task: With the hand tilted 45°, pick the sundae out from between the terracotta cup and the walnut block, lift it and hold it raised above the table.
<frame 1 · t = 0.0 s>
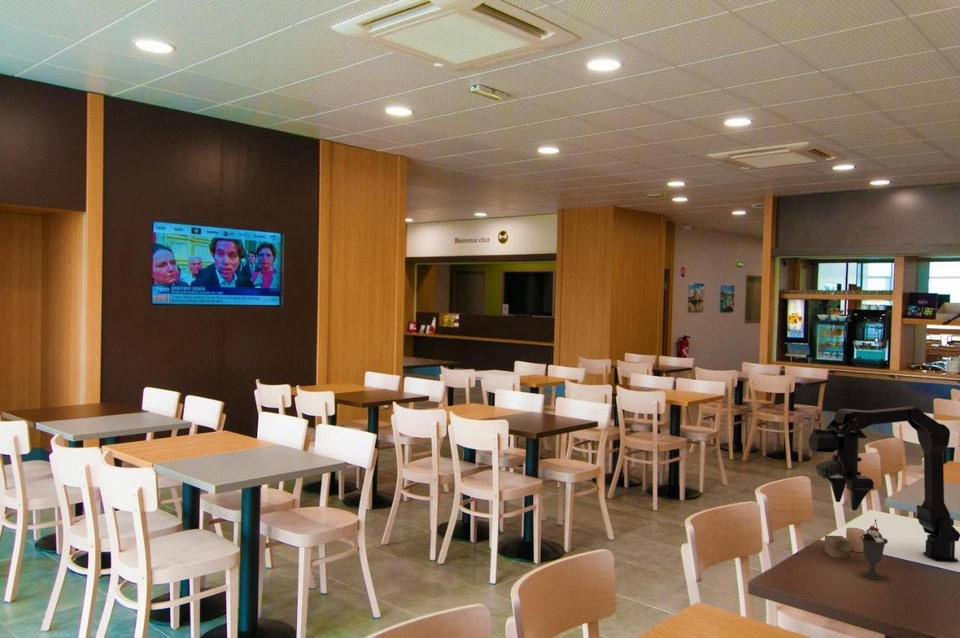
hand: (845, 506, 212), 15 cm above the table, tool pointing down, fingers open, 9 cm apart
sundae: (872, 576, 196), on the table
walnut block: (837, 555, 213), on the table
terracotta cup: (855, 549, 218), on the table
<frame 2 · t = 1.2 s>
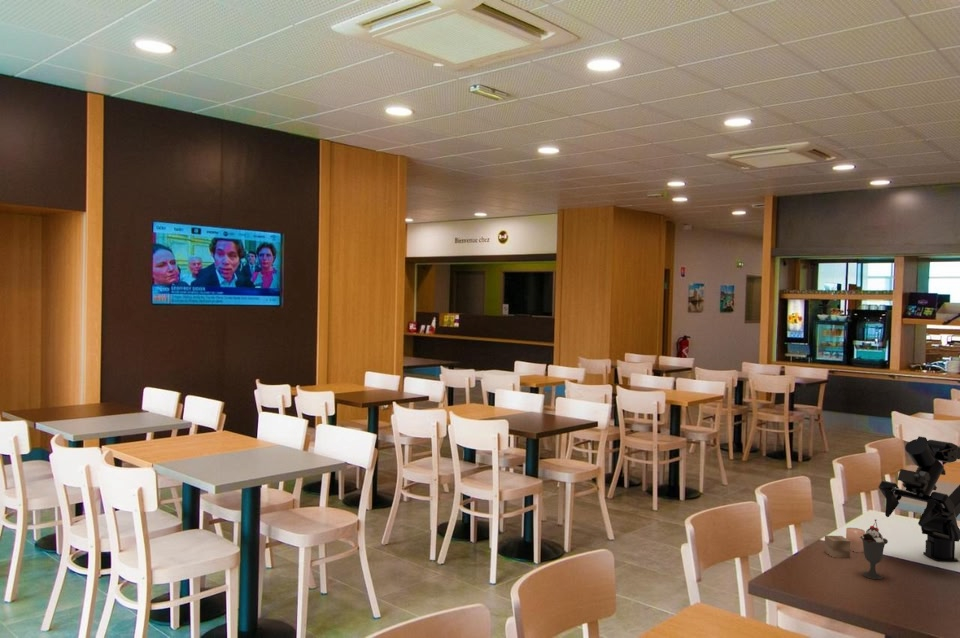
hand: (902, 520, 203), 13 cm above the table, tool tilted 45°, fingers open, 9 cm apart
nothing on the table moved.
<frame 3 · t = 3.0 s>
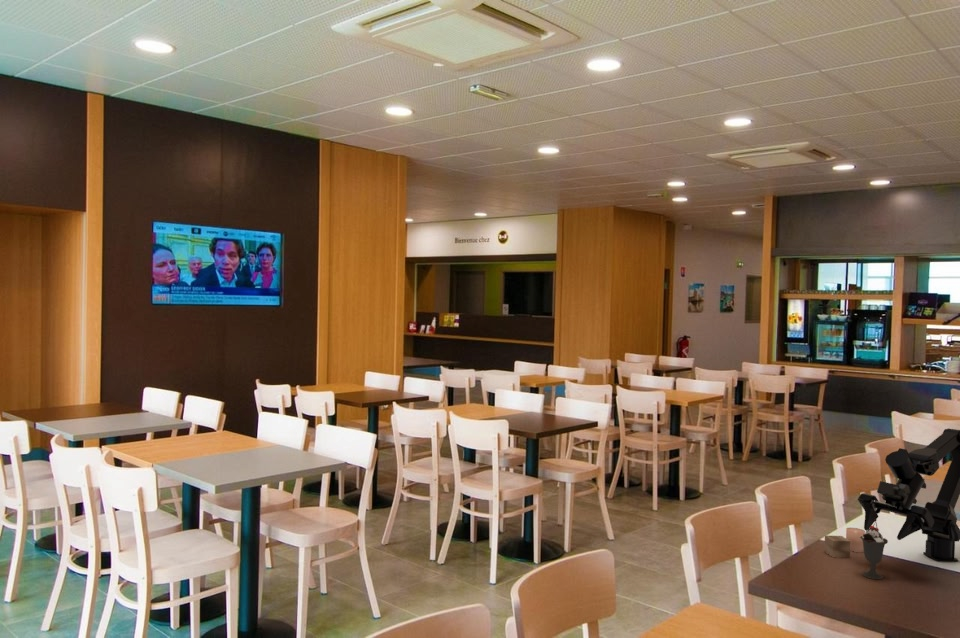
hand: (881, 534, 198), 11 cm above the table, tool tilted 45°, fingers open, 9 cm apart
nothing on the table moved.
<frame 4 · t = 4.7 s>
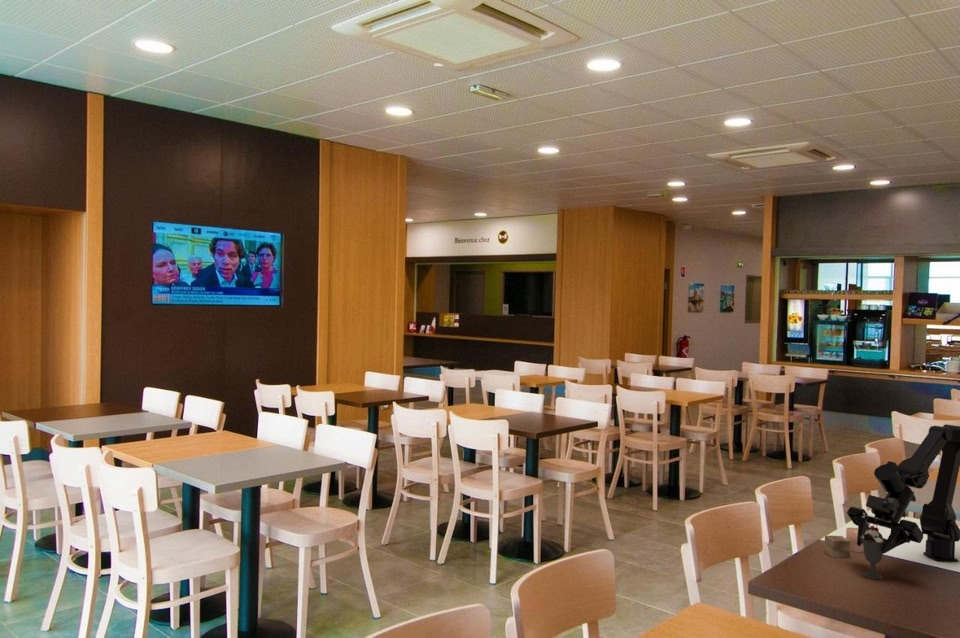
hand: (870, 548, 195), 8 cm above the table, tool tilted 45°, fingers closed on sundae, 6 cm apart
sundae: (872, 576, 196), on the table, touching gripper
everything else where it was.
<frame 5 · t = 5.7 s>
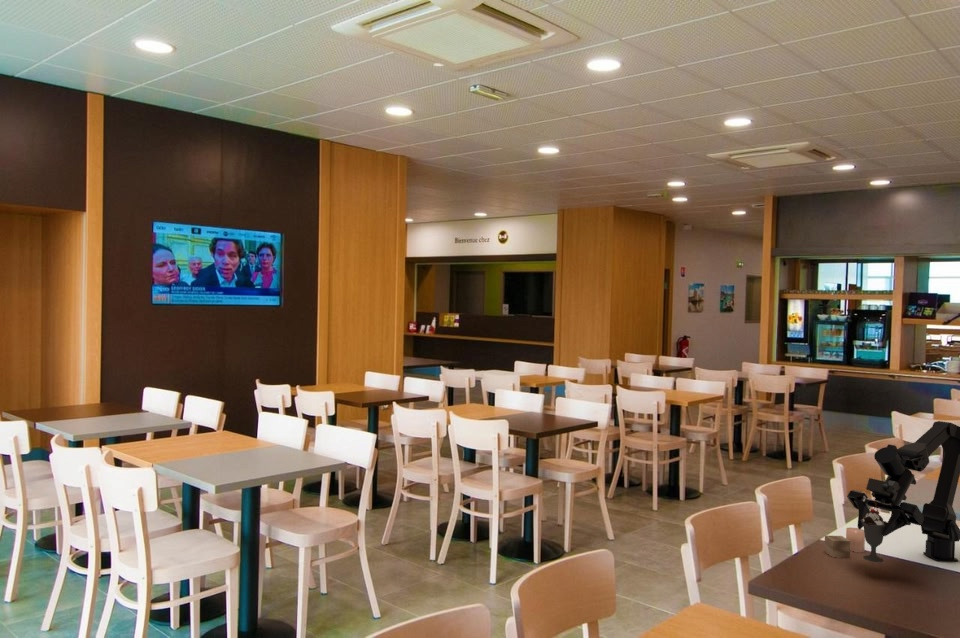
hand: (870, 531, 195), 12 cm above the table, tool tilted 45°, fingers closed on sundae, 6 cm apart
sundae: (873, 559, 196), point 4 cm above the table, touching gripper
everything else where it was.
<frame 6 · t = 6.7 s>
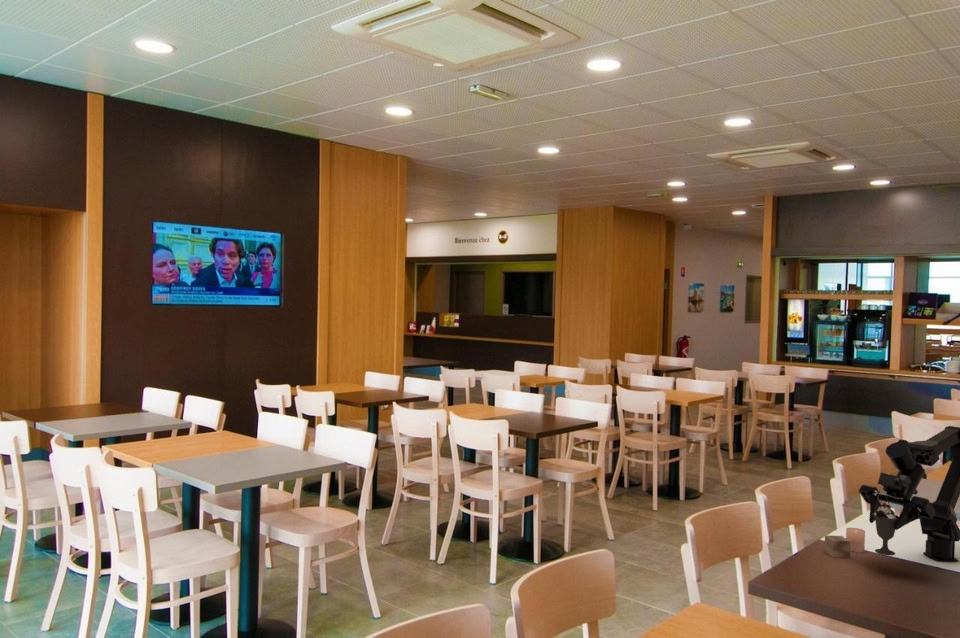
hand: (882, 525, 198), 13 cm above the table, tool tilted 45°, fingers closed on sundae, 6 cm apart
sundae: (884, 553, 199), point 5 cm above the table, touching gripper
everything else where it was.
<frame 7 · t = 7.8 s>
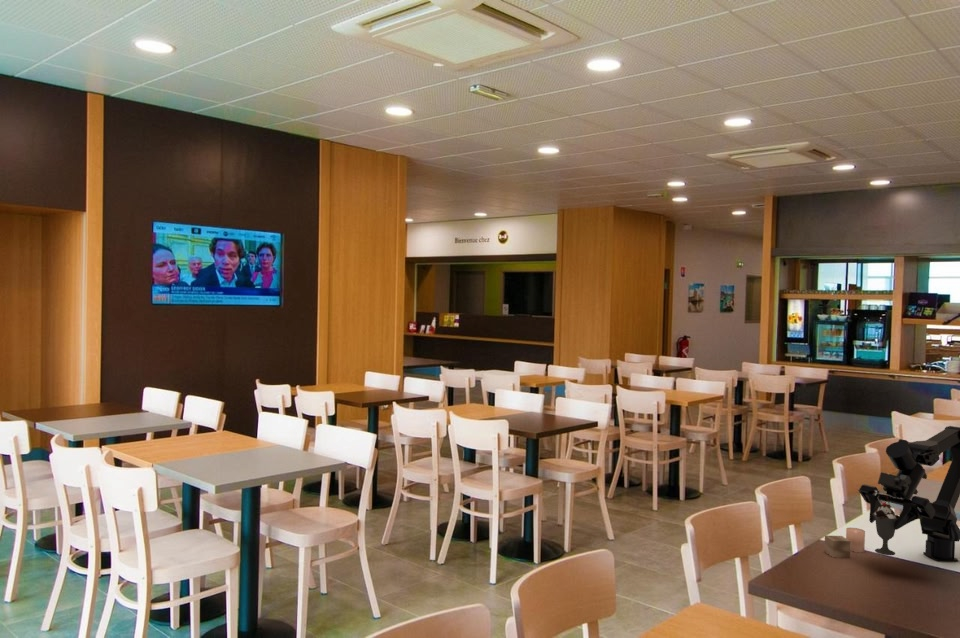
hand: (882, 525, 198), 13 cm above the table, tool tilted 45°, fingers closed on sundae, 6 cm apart
sundae: (884, 553, 199), point 6 cm above the table, touching gripper
everything else where it was.
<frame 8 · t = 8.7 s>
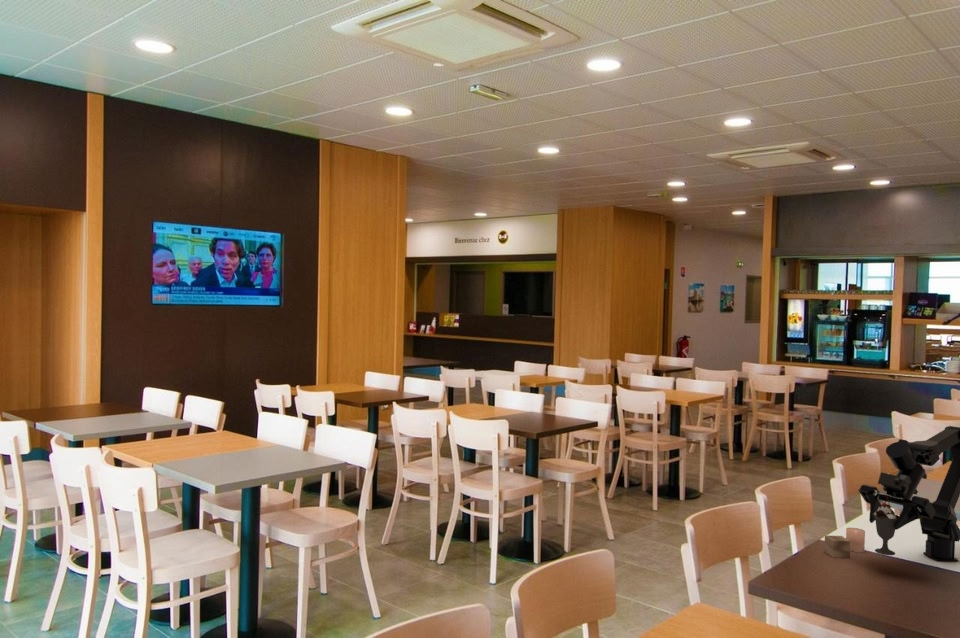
hand: (882, 525, 198), 13 cm above the table, tool tilted 45°, fingers closed on sundae, 6 cm apart
sundae: (884, 553, 199), point 6 cm above the table, touching gripper
everything else where it was.
at the end: the gripper is holding sundae; sundae point 5.5 cm above the table; walnut block moved 0.1 cm from its start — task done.
